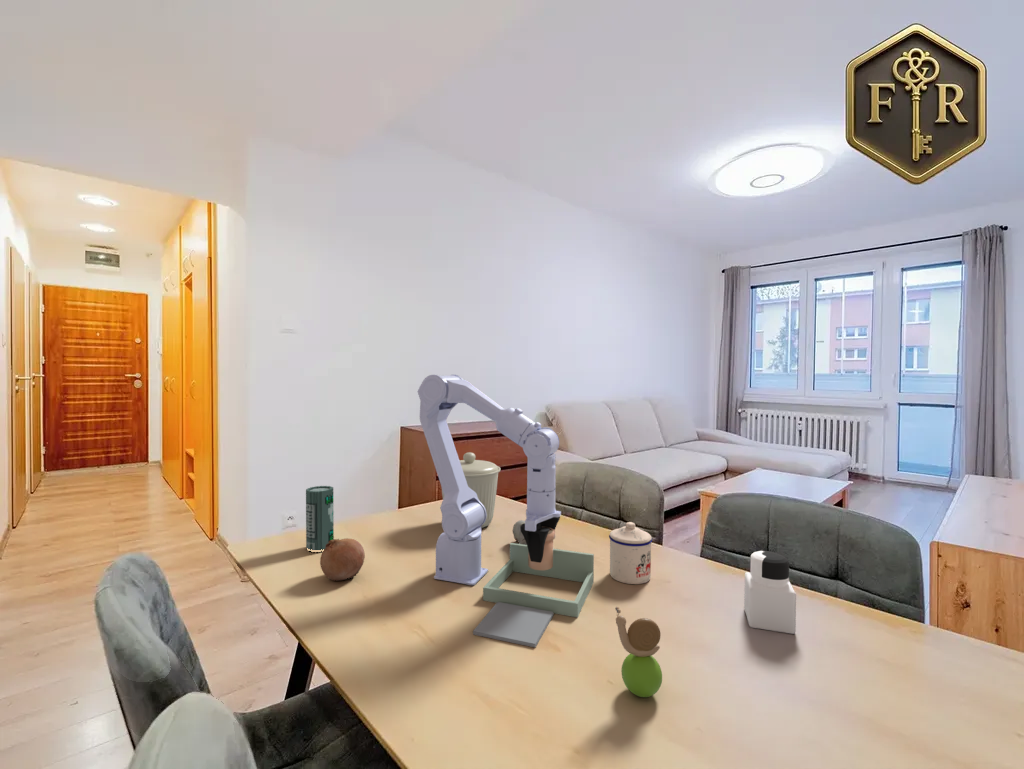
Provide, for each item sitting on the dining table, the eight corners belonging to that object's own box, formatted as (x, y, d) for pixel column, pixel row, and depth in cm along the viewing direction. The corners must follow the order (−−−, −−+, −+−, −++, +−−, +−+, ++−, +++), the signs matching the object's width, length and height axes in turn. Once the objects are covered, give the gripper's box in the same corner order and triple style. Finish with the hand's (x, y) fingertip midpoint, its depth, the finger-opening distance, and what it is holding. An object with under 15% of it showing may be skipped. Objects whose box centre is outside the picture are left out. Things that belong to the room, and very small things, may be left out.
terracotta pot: (522, 568, 95) (522, 533, 95) (531, 558, 100) (531, 524, 100) (550, 573, 93) (550, 537, 93) (558, 562, 98) (558, 528, 98)
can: (337, 547, 120) (337, 488, 120) (314, 554, 116) (313, 493, 115) (325, 542, 124) (325, 484, 124) (302, 548, 120) (302, 488, 119)
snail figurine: (609, 681, 68) (610, 598, 68) (653, 679, 69) (654, 597, 69) (621, 708, 63) (622, 618, 63) (668, 705, 64) (669, 616, 63)
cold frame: (483, 600, 93) (483, 569, 93) (510, 569, 107) (511, 542, 107) (577, 617, 86) (577, 584, 86) (593, 582, 101) (593, 554, 101)
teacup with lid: (643, 589, 98) (644, 532, 97) (602, 578, 103) (602, 524, 102) (661, 569, 108) (661, 518, 107) (622, 560, 113) (622, 511, 112)
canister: (510, 520, 143) (510, 450, 143) (482, 539, 127) (482, 460, 126) (458, 512, 151) (458, 446, 150) (425, 529, 134) (425, 455, 134)
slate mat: (473, 634, 81) (473, 630, 81) (497, 604, 91) (497, 601, 91) (535, 647, 77) (535, 643, 77) (553, 615, 87) (553, 611, 87)
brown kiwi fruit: (325, 595, 101) (302, 557, 99) (349, 567, 109) (329, 532, 108) (357, 586, 98) (334, 547, 96) (380, 559, 106) (359, 522, 104)
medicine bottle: (786, 615, 88) (788, 550, 87) (796, 635, 81) (797, 564, 81) (743, 608, 90) (744, 545, 90) (749, 627, 83) (750, 559, 83)
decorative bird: (526, 540, 127) (526, 510, 127) (557, 564, 111) (557, 530, 111) (506, 543, 125) (506, 512, 124) (534, 568, 109) (535, 533, 108)
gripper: (550, 499, 88) (550, 572, 89) (569, 482, 102) (568, 546, 102) (514, 496, 91) (514, 567, 91) (537, 480, 104) (536, 541, 105)
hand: (540, 555), depth 97 cm, fingers closed on terracotta pot, 6 cm apart
